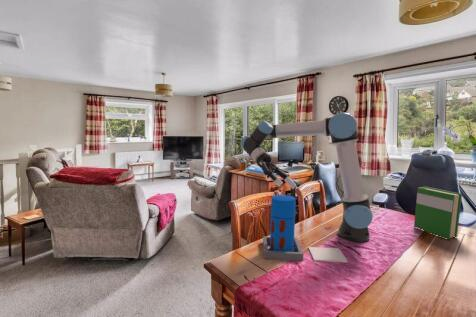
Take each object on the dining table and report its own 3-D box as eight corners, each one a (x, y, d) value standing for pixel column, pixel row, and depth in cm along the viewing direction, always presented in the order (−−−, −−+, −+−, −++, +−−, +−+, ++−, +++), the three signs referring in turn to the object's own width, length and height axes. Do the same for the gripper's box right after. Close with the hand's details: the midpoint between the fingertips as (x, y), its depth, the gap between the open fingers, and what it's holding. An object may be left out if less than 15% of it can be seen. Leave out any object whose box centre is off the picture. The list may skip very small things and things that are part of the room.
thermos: (293, 257, 113) (296, 202, 110) (268, 255, 115) (270, 200, 112) (293, 246, 123) (295, 195, 120) (270, 244, 125) (272, 194, 123)
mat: (338, 249, 121) (338, 248, 121) (347, 262, 109) (347, 261, 109) (308, 248, 122) (308, 246, 122) (314, 260, 110) (314, 259, 110)
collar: (296, 243, 127) (297, 237, 126) (302, 260, 110) (303, 254, 110) (263, 242, 128) (263, 236, 127) (264, 258, 111) (264, 252, 111)
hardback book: (456, 238, 137) (462, 193, 134) (448, 240, 134) (453, 195, 131) (421, 226, 153) (425, 186, 150) (413, 228, 150) (417, 187, 147)
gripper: (269, 166, 144) (295, 193, 132) (242, 159, 125) (269, 190, 113) (278, 156, 142) (304, 182, 129) (251, 147, 123) (279, 177, 110)
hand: (288, 186), depth 121 cm, fingers open, 13 cm apart
